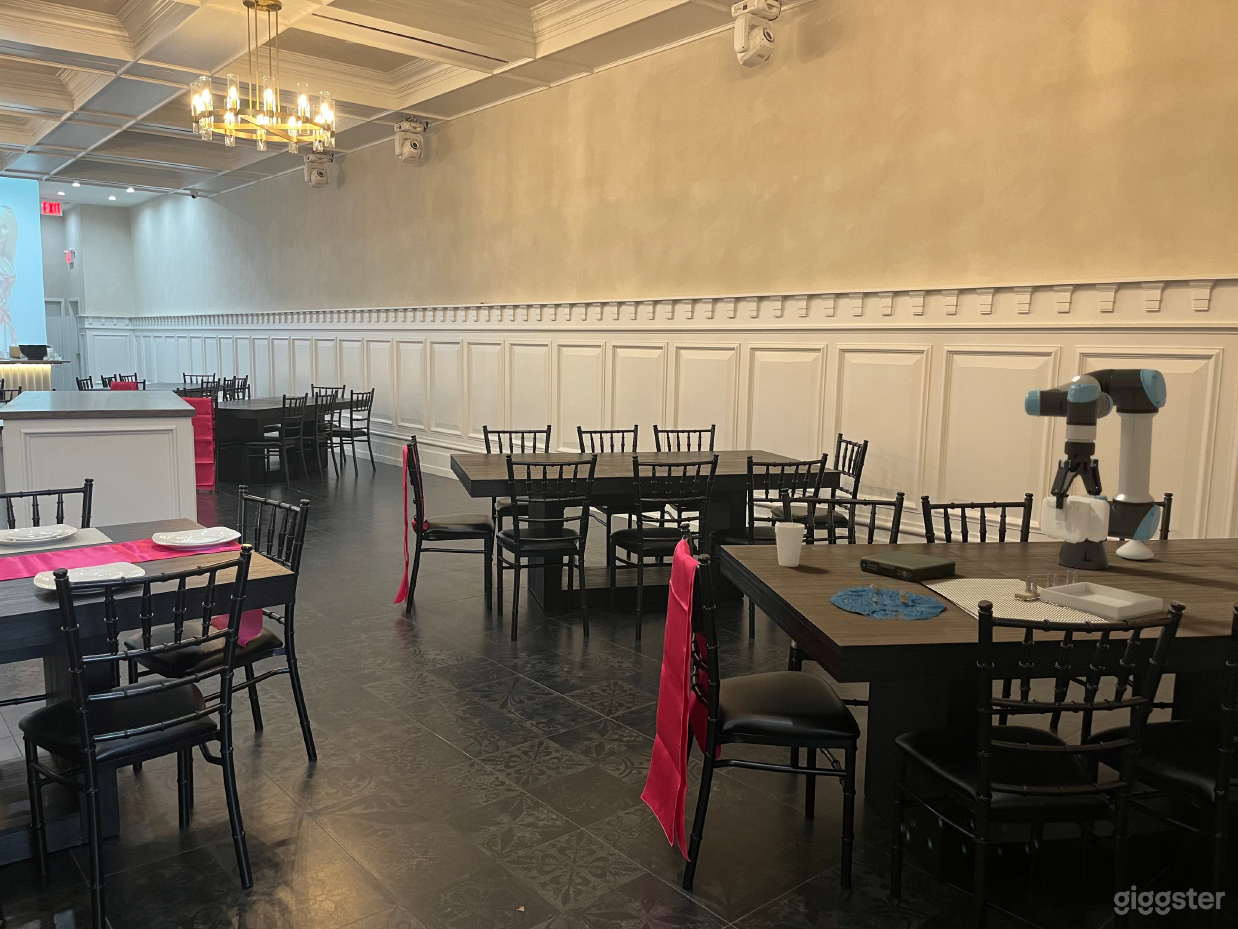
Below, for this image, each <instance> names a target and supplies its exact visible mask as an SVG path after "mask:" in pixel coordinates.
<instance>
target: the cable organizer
mask: <svg viewBox="0 0 1238 929" xmlns="http://www.w3.org/2000/svg"><path fill="white" fill-rule="evenodd" d="M1082 496H1083V495H1069V496H1068V497H1066V498H1068V499H1067V514H1066V522H1063V521H1057V520H1055V518H1056V497H1055V496H1046V497H1045V498H1043V499H1042V504H1041V505H1042V507H1041V520H1040V521H1041V522H1040V531H1041V532H1042V534H1043V535H1044V536H1047V538H1050V539H1055V540H1058V539H1059V540H1065V541H1066V542H1070V543H1076V542H1083V541H1084V540H1085V539H1086V538H1088V540H1091V541H1094V542H1099V540H1104V541H1105V540H1106V539H1107V538H1108V537H1107V536H1108V524H1109V509H1110V506H1109V504H1108V503H1107V502H1106V501H1104V500H1099V499H1094V498H1088V497H1082Z"/></svg>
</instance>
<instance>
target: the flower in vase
mask: <svg viewBox="0 0 1238 929" xmlns="http://www.w3.org/2000/svg"><path fill="white" fill-rule="evenodd" d="M1115 553H1116V555H1118V556H1120V557H1121V558H1126V559H1130V560H1143V561H1144V560H1150V559H1153V558H1154V557H1155V555H1154V552H1153V551H1152V550H1151V549H1150V548H1149V547H1148V546H1146V544H1144V543H1143V542H1142V541H1140V540H1136V541H1134V540H1131V539H1129V541H1127V542H1126V543H1124V544H1123V545H1121V546H1120V547H1119V548H1117V550H1116V551H1115Z"/></svg>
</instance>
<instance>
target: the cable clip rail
mask: <svg viewBox="0 0 1238 929" xmlns="http://www.w3.org/2000/svg"><path fill="white" fill-rule="evenodd" d="M1052 573H1053V572H1052ZM1052 573H1051V572H1048V573H1046V579H1045V580H1046V584H1045V587H1044V588H1050V587H1056V586H1059V584H1058V583H1059V574H1057V573H1056V574H1053V575H1052ZM1078 576H1079V571H1072V570H1071V569H1067V570H1066V576H1065V584H1064V585H1068V584H1075V583H1078V578H1079V577H1078ZM1025 580H1026V582H1025V590H1024V592H1018V593H1014V599H1015V598H1019V599H1022V600H1027V599H1031V598H1037V597H1040V589H1038V580H1039V578H1038V577H1032V576H1031V575H1027V576H1026V579H1025Z"/></svg>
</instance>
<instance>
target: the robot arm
mask: <svg viewBox="0 0 1238 929" xmlns="http://www.w3.org/2000/svg"><path fill="white" fill-rule="evenodd" d="M1166 402H1167V385H1166V380H1165V377H1164V375H1163V373H1162V372H1160V371H1159V370H1158V369H1149V368H1105V369H1104V368H1103V369H1097V370H1094V371H1090V372H1087V373H1084V374H1080V375H1078V376H1075V377H1074V378H1073V379H1072V380H1071V381H1069V382H1067V383H1064V384H1062V385H1058V386H1055V387H1052V388H1048V389H1045V390H1043V389H1042V390H1039V389H1036V390H1035V389H1034V390H1029V391H1028V392H1027V393H1026V395H1025V398H1024V411H1025V413H1026V415H1028V416H1032V417H1033V416H1034V417H1039V418H1040V417H1053V418H1054V417H1055V418H1056V417H1057V418H1058V417H1059V418H1065V419H1066V423H1065V424H1066V425H1065V435H1064V436H1065V439H1066V441H1065V442H1064V448H1063V449H1064V450H1063V453H1064V454H1065V455H1067V458H1066V459H1059V460H1058V464H1057V465H1058V467H1057V469H1056V470H1057V471H1056V474H1055V478H1054V480H1053V483H1052V486H1051V489H1050V494H1051V496H1052V497H1056V518H1055V520H1057V521H1063V522H1066V514H1067V499H1068V498H1067V497H1066V496H1067V495H1068V493H1069V490H1070V488H1071V486H1072V484H1073V482H1074V479H1076V478H1077V477H1078V476H1080V478H1081V480H1082V481H1081V482H1082V483H1083V486H1084V488H1085V490H1086V491H1085V492H1086V493H1087V494H1085V495H1081V496H1082V497H1088V498H1094V499H1099V500H1104V501H1106V502H1107V503H1108V504H1109V506H1110V509H1109V524H1108V536H1107V538H1116V539H1124V540H1134V541H1136V540H1140V541H1141V542H1142V541H1143V542H1144V541H1145V542H1147V541H1150V540H1152V539H1153V537H1154V536H1155V534H1156V533H1157V529H1158V528H1159V525H1160V519H1161V516H1162V515H1161V514H1162V512H1161V506H1159V505H1157V504H1155V498H1154V497H1153V496H1152V495H1151V493H1150V483H1151V482H1150V479H1151V463H1152V462H1151V461H1152V440H1153V439H1152V438H1153V420H1154V417H1155V416H1156V415H1158V414H1159V411H1160V409H1161V408H1164V407H1165V405H1166ZM1114 407H1115V413H1116V414H1117V415H1118V416H1119V417H1120V418H1121V419H1120V437H1119V438H1120V439H1119V440H1120V441H1119V463H1118V484H1117V485H1118V487H1117V488H1118V489H1117V492H1116V493H1115V494H1114V495H1112V498H1111V500H1109V498H1108V496H1107V495H1102V492H1103V487H1102V481H1101V476H1100V470H1099V459H1097V458H1091V457H1093V456H1095V453H1096V443H1095V441H1096V439H1097V424H1098V419H1099V420H1100V419H1101V418H1105V417H1107V416H1108V415H1110V413H1111V412H1112V411H1113V409H1114ZM1063 540H1064V539H1063ZM1056 562H1057V564H1058V565H1060V564H1061V566H1063V567H1067V568H1072V567H1074V569H1079V568H1080V570H1093V571H1094V570H1095V571H1096V570H1107V569H1109V566H1110V564H1109V563H1110V560H1109V557H1108V553H1107V550H1106V545H1105V540H1099V542H1094V541H1091V540H1088V538H1086V539H1085V540H1084V541H1083V542H1076V543H1070V542H1066V541H1065V540H1064V541H1063V543H1062V546H1061V548H1060V550H1059V553H1058V555H1057V560H1056Z"/></svg>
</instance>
